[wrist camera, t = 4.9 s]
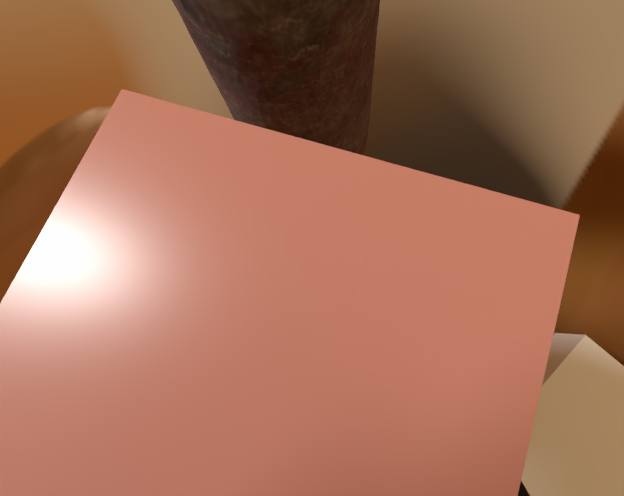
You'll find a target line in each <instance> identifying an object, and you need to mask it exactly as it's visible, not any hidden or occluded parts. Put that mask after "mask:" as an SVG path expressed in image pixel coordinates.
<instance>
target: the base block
mask: <svg viewBox="0 0 624 496" xmlns="http://www.w3.org/2000/svg"><path fill="white" fill-rule="evenodd" d="M521 481H522V483H523V484H524V486H525V488H526V489H527V491H528V493H529V494H530V496H624V366H623V365H622V364H621V363H619V362H618V361H617V360H616V359H614V358H613V357H612V356H611V355H610V354H608V353H607V352H606V351H605V350H603V349H602V348H601V347H600V346H599V345H597V344H596V343H595V342H594V341H592V340H591V339H590V338H589V337H588V336H586V335H579V334H563V333H554V334H553V339H552V343H551V348H550V352H549V357H548V361H547V366H546V370H545V375H544V379H543V384H542V388H541V393H540V397H539V402H538V406H537V411H536V415H535V420H534V424H533V429H532V433H531V438H530V442H529V447H528V451H527V456H526V460H525V465H524V469H523V474H522V478H521Z"/></svg>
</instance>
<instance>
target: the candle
mask: <svg viewBox="0 0 624 496" xmlns="http://www.w3.org/2000/svg"><path fill="white" fill-rule="evenodd" d="M172 1H173V3H174V5H175V6H176V8H177V10H178V12H179V13H180V15H181V17H182V19H183V21H184V23H185V25H186V27H187V29H188V31H189V33H190V36H191V37H192V39H193V41H194V43H195V45H196V47H197V49H198V51H199V53H200V54H201V56H202V58H203V60H204V62H205V64H206V66H207V68H208V70H209V72H210V74H211V76H212V78H213V80H214V81H215V83H216V85H217V87H218V88H219V91H220V93H221V95H222V97H223V98H224V100H225V102H226V104H227V106H228V108H229V110H230V112H231V114H232V116H233V118H234V120H236V121H240V122H243V123H247V124H251V125H254V126H258V127H262V128H265V129H269V130H273V131H276V132H280V133H284V134H287V135H291V136H294V137H298V138H302V139H305V140H309V141H313V142H316V143H320V144H324V145H327V146H331V147H334V148H338V149H342V150H345V151H349V152H353V153H356V154H360V155H364V152H365V148H366V142H367V135H368V124H369V115H370V104H371V92H372V80H373V70H374V59H375V46H376V33H377V24H378V16H379V3H380V0H172Z"/></svg>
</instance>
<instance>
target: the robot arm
mask: <svg viewBox="0 0 624 496" xmlns="http://www.w3.org/2000/svg"><path fill="white" fill-rule="evenodd" d="M518 496H530V494H529V493H528V491H527V489H526V488H525V486H524V484H523V483H522V481H521V483H520V487H519V492H518Z"/></svg>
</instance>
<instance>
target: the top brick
mask: <svg viewBox="0 0 624 496" xmlns="http://www.w3.org/2000/svg"><path fill="white" fill-rule="evenodd" d="M579 217H580V215H578V214H575V213H571V212H567V211H564V210H560V209H556V208H553V207H549V206H546V205H542V204H538V203H535V202H531V201H527V200H524V199H520V198H516V197H513V196H509V195H506V194H502V193H498V192H494V191H491V190H487V189H484V188H480V187H476V186H473V185H469V184H465V183H462V182H458V181H454V180H451V179H447V178H443V177H440V176H436V175H433V174H429V173H425V172H422V171H418V170H414V169H411V168H407V167H404V166H400V165H396V164H393V163H388V162H385V161H382V160H378V159H374V158H371V157H367V156H364V155H360V154H356V153H353V152H349V151H345V150H342V149H338V148H334V147H331V146H327V145H324V144H320V143H316V142H313V141H309V140H305V139H302V138H298V137H294V136H291V135H287V134H284V133H280V132H276V131H273V130H269V129H265V128H262V127H258V126H254V125H251V124H247V123H243V122H240V121H236V120H232V119H229V118H225V117H222V116H218V115H214V114H210V113H207V112H203V111H200V110H196V109H193V108H189V107H185V106H182V105H178V104H174V103H170V102H167V101H163V100H160V99H156V98H152V97H149V96H145V95H142V94H138V93H134V92H131V91H127V90H123V89H122V90H121V91H120V93H119V95H118V97H117V99H116V101H115V102H114V104H113V106H112V107H111V109H110V111H109V113H108V114H107V116H106V118H105V120H104V121H103V123H102V125H101V127H100V129H99V130H98V132H97V134H96V136H95V137H94V139H93V141H92V143H91V144H90V146H89V148H88V150H87V151H86V153H85V155H84V157H83V159H82V160H81V162H80V164H79V166H78V167H77V169H76V171H75V173H74V174H73V176H72V178H71V180H70V181H69V183H68V185H67V187H66V189H65V190H64V192H63V194H62V196H61V197H60V199H59V201H58V203H57V204H56V206H55V208H54V210H53V211H52V213H51V215H50V217H49V219H48V220H47V222H46V224H45V226H44V227H43V229H42V231H41V233H40V234H39V236H38V238H37V240H36V242H35V243H34V245H33V247H32V249H31V250H30V252H29V254H28V256H27V257H26V259H25V261H24V263H23V264H22V266H21V268H20V270H19V272H18V273H17V275H16V277H15V279H14V280H13V282H12V284H11V286H10V287H9V289H8V291H7V293H6V294H5V296H4V298H3V300H2V302H1V303H0V496H518V492H519V487H520V483H521V478H522V474H523V469H524V465H525V460H526V456H527V451H528V447H529V442H530V438H531V433H532V429H533V424H534V420H535V415H536V411H537V406H538V402H539V397H540V393H541V388H542V384H543V379H544V375H545V370H546V366H547V361H548V357H549V352H550V348H551V343H552V339H553V334H554V330H555V325H556V321H557V316H558V312H559V307H560V303H561V298H562V293H563V289H564V284H565V280H566V275H567V271H568V266H569V262H570V257H571V253H572V248H573V244H574V239H575V235H576V230H577V226H578V221H579Z"/></svg>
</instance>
